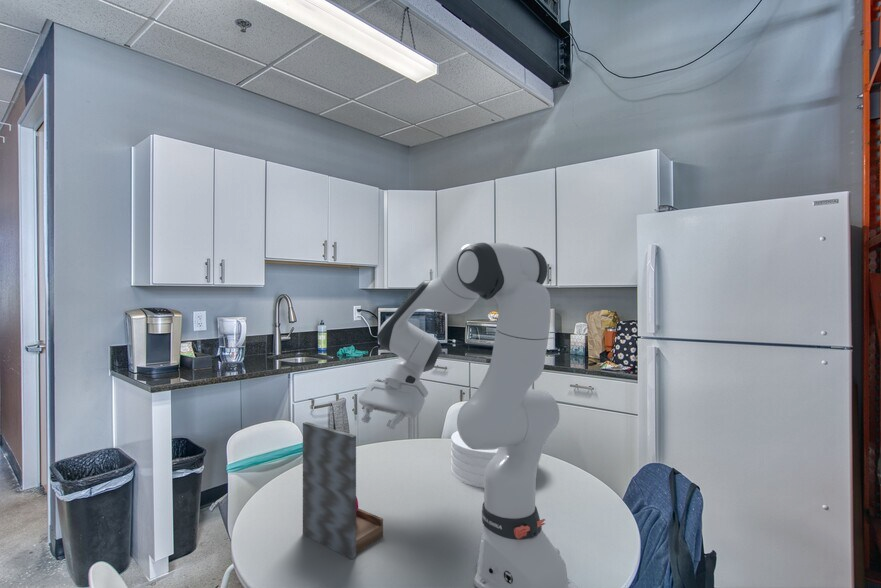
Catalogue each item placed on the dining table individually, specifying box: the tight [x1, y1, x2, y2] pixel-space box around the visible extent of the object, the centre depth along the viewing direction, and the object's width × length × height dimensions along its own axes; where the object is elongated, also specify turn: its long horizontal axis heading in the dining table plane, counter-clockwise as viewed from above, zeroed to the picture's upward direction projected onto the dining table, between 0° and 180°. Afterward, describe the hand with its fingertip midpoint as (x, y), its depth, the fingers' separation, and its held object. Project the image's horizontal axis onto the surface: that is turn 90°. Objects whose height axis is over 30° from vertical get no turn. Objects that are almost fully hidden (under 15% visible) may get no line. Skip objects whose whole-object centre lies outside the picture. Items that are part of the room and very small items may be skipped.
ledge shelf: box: [302, 421, 384, 560], centre depth 111 cm, size 18×11×28 cm, turn 54°
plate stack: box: [450, 430, 499, 489], centre depth 152 cm, size 28×28×12 cm
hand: (376, 424), depth 121 cm, fingers open, 8 cm apart
